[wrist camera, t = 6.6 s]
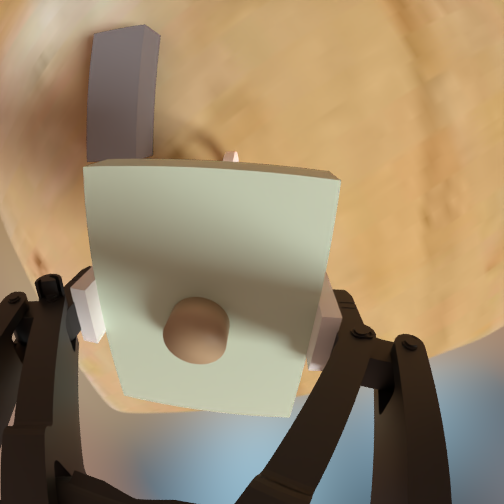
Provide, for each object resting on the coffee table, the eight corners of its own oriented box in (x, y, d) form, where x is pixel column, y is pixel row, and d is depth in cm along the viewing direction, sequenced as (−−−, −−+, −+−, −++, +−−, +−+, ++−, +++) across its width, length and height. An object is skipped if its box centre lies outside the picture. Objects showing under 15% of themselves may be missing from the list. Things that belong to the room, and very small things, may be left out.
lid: (108, 159, 11) (64, 173, 8) (329, 171, 11) (350, 188, 8) (135, 371, 16) (117, 411, 13) (288, 390, 16) (290, 435, 13)
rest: (113, 41, 22) (94, 33, 18) (160, 35, 22) (145, 24, 18) (107, 155, 27) (86, 161, 23) (152, 155, 27) (135, 160, 23)
